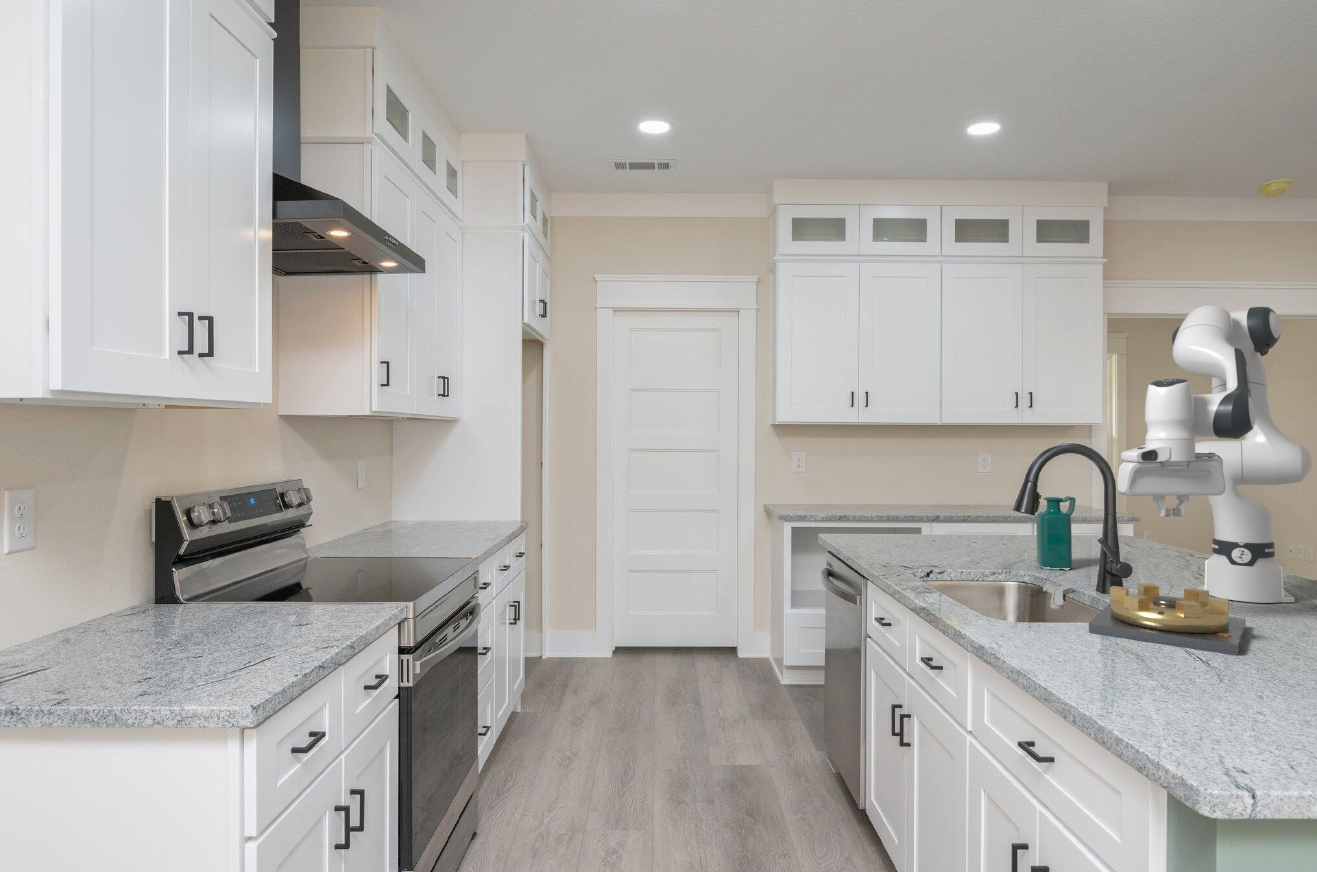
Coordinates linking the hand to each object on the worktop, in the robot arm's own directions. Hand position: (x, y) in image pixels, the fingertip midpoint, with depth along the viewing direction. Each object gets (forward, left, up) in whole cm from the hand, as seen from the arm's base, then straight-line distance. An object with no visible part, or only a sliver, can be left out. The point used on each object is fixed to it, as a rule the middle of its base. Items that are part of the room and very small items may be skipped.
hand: (1171, 516), depth 153 cm
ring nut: (+9, 0, -21) cm, 22 cm away
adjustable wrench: (-10, -25, -24) cm, 36 cm away
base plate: (+9, 0, -23) cm, 25 cm away
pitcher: (-53, -35, -23) cm, 68 cm away
